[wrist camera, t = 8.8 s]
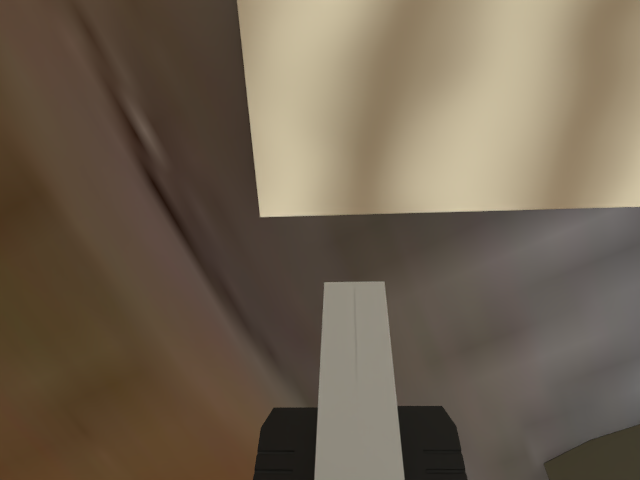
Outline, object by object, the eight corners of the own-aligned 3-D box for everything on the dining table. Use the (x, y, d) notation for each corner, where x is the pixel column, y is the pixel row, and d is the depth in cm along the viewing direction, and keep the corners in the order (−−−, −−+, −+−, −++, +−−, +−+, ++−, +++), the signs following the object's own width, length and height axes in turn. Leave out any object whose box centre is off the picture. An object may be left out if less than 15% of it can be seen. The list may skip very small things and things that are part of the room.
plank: (1003, -66, 19) (1064, -65, 17) (886, 180, 23) (926, 198, 22) (242, -30, 20) (234, -26, 19) (265, 198, 25) (260, 217, 23)
